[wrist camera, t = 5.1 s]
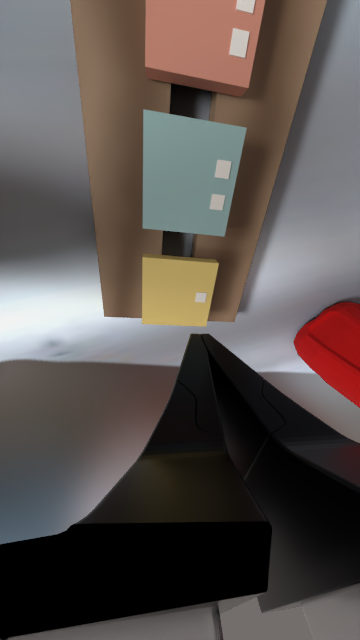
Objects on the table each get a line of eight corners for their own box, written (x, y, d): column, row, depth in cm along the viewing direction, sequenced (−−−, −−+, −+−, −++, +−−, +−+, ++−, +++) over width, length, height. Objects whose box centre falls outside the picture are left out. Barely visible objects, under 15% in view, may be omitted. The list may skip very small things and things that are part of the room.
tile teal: (145, 223, 16) (142, 228, 14) (146, 126, 13) (143, 108, 11) (214, 230, 17) (224, 236, 15) (230, 140, 14) (247, 127, 12)
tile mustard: (144, 308, 21) (142, 324, 18) (144, 248, 17) (142, 257, 15) (200, 311, 21) (206, 326, 19) (210, 254, 18) (219, 263, 16)
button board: (108, 307, 22) (104, 316, 20) (68, -126, 10) (49, -195, 8) (228, 313, 24) (234, 321, 22) (323, -45, 12) (352, -87, 10)
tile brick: (147, 91, 13) (144, 65, 11) (149, -75, 10) (147, -168, 8) (232, 107, 14) (249, 87, 12) (257, -42, 11) (288, -116, 8)
